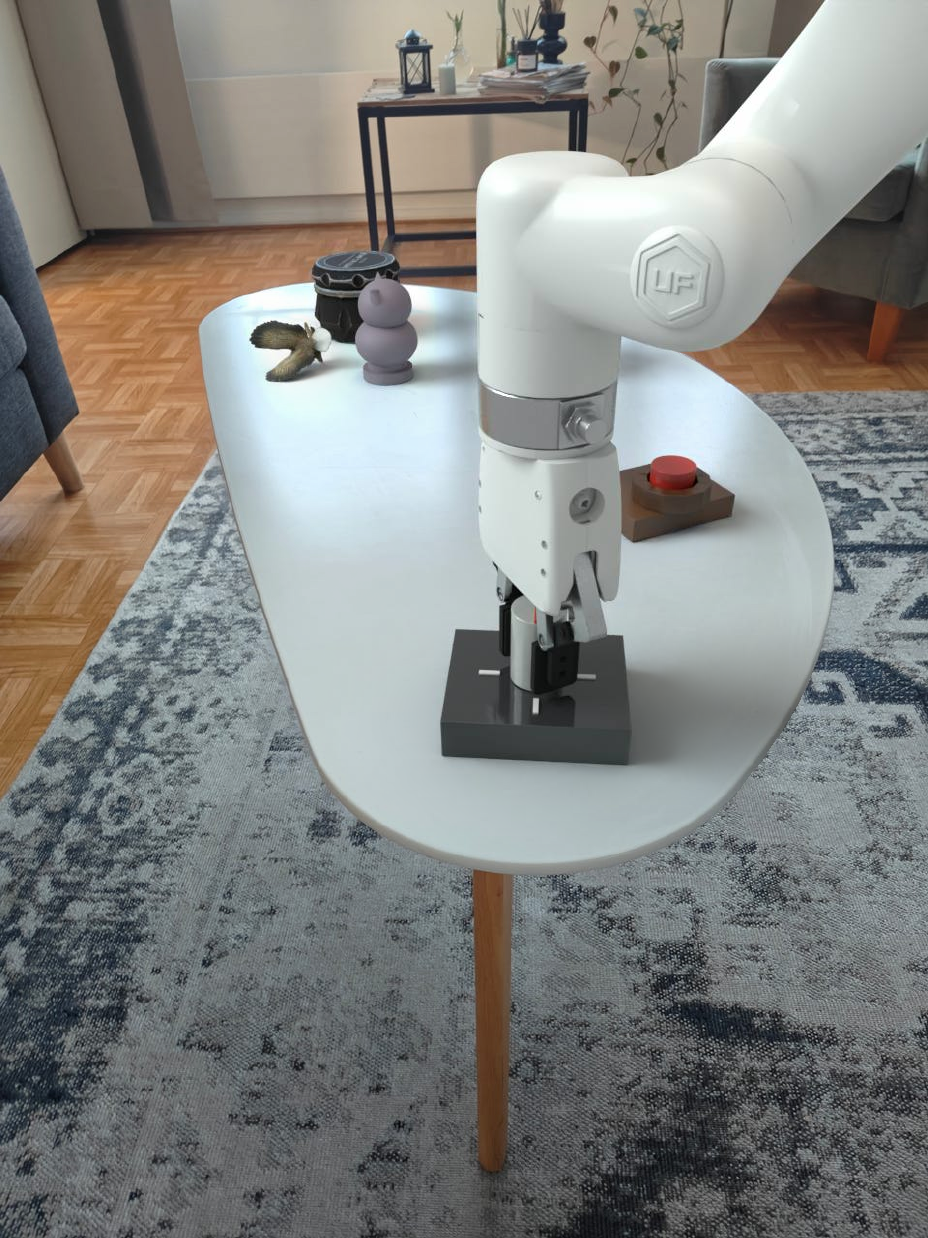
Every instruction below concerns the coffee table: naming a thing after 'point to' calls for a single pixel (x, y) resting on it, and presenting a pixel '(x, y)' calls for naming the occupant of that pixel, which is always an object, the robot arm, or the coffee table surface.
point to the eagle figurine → (291, 346)
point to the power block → (668, 504)
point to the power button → (673, 472)
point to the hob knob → (525, 639)
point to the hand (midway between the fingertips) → (537, 665)
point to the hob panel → (535, 706)
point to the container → (347, 288)
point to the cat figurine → (386, 332)
